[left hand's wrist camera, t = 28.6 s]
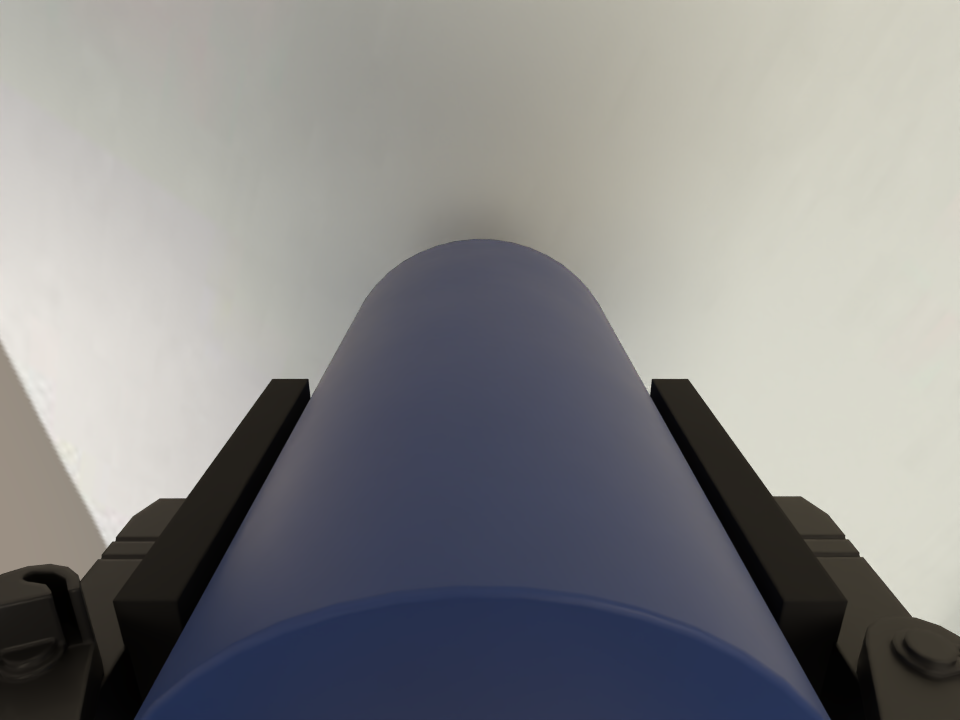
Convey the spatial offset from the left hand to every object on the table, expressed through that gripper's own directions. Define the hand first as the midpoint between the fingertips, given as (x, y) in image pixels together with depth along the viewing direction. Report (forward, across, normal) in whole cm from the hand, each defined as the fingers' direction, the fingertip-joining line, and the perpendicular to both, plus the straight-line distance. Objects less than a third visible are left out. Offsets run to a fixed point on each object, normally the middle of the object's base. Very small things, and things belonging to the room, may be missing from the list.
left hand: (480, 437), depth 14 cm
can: (+4, 0, 0) cm, 4 cm away
